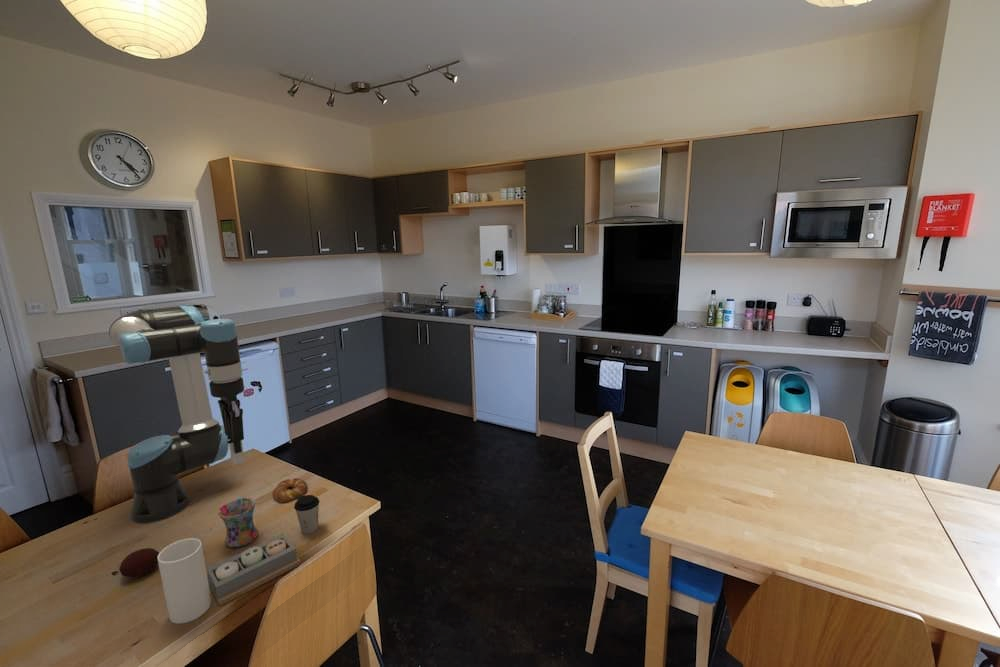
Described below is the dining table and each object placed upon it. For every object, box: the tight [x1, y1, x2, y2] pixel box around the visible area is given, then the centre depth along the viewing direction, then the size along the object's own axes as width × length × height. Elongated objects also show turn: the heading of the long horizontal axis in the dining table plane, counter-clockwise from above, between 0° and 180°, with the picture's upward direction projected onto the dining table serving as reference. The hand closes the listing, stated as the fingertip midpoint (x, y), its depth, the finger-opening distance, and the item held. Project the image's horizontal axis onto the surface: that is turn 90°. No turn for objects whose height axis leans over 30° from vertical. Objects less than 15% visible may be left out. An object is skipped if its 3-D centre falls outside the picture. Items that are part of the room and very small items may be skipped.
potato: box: [119, 547, 160, 579], centre depth 116 cm, size 7×8×6 cm
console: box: [206, 533, 301, 607], centre depth 116 cm, size 12×19×4 cm, turn 136°
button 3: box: [266, 540, 286, 557], centre depth 119 cm, size 5×5×3 cm
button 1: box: [216, 561, 239, 581], centre depth 111 cm, size 5×5×3 cm
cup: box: [158, 537, 212, 625], centre depth 103 cm, size 8×8×16 cm
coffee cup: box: [293, 494, 320, 535], centre depth 132 cm, size 7×7×10 cm
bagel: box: [272, 477, 308, 504], centre depth 152 cm, size 12×11×4 cm
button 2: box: [241, 546, 263, 569], centre depth 115 cm, size 5×5×3 cm
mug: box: [217, 497, 259, 548], centre depth 129 cm, size 12×9×11 cm
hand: (238, 462), depth 120 cm, fingers closed
